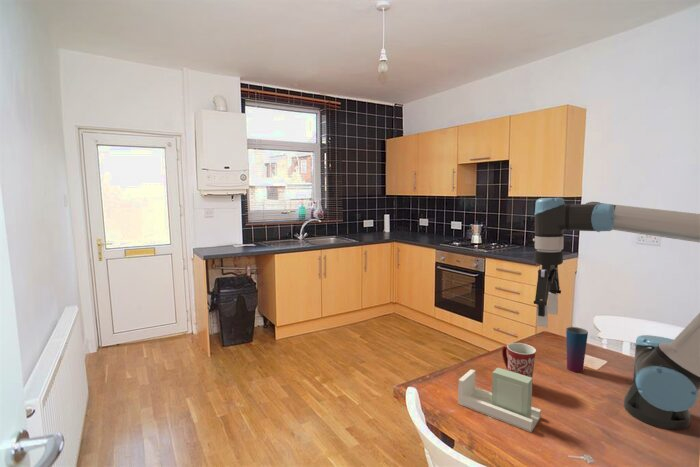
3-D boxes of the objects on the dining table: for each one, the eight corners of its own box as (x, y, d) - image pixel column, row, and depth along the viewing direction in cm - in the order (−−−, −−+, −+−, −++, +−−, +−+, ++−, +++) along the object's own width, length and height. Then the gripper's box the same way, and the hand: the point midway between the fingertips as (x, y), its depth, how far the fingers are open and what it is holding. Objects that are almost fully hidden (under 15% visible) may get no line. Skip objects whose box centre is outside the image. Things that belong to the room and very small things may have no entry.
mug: (540, 390, 125) (542, 351, 123) (518, 395, 122) (519, 355, 121) (514, 372, 137) (515, 337, 135) (493, 376, 134) (494, 340, 133)
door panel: (531, 416, 110) (532, 377, 108) (526, 423, 106) (527, 383, 105) (496, 404, 116) (497, 367, 115) (491, 410, 113) (492, 372, 112)
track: (540, 417, 110) (541, 391, 109) (531, 432, 103) (532, 405, 103) (470, 392, 124) (471, 369, 123) (458, 403, 118) (458, 379, 117)
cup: (585, 367, 140) (588, 329, 138) (585, 375, 134) (588, 335, 132) (564, 363, 143) (566, 325, 142) (563, 370, 138) (565, 331, 136)
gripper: (544, 244, 123) (543, 307, 125) (523, 255, 104) (522, 329, 106) (570, 245, 118) (569, 311, 120) (553, 257, 99) (552, 335, 101)
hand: (547, 319), depth 113 cm, fingers open, 13 cm apart
